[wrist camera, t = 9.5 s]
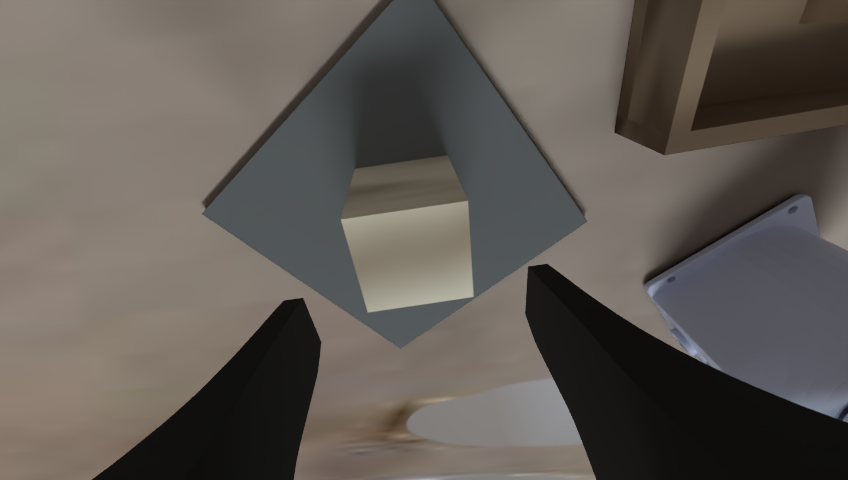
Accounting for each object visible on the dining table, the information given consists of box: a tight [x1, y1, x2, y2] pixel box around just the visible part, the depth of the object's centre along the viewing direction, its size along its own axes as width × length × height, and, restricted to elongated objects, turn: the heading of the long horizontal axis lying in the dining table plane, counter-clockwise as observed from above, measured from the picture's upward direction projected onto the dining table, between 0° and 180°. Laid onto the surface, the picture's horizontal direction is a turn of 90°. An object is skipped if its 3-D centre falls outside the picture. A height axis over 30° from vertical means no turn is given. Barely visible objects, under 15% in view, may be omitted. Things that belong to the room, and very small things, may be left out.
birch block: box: [341, 155, 474, 312], centre depth 15 cm, size 4×4×5 cm
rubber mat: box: [202, 0, 587, 349], centre depth 17 cm, size 14×14×1 cm
